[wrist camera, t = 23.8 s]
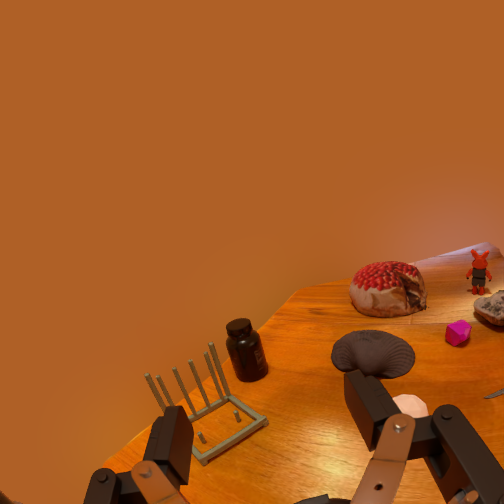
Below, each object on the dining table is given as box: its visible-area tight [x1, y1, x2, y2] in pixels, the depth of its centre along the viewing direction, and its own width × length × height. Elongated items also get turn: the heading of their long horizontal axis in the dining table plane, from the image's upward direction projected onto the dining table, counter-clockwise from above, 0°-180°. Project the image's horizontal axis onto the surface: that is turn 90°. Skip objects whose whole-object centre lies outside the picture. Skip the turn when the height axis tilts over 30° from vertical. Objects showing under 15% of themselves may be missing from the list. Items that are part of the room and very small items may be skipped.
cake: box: [350, 261, 427, 317], centre depth 69 cm, size 23×24×10 cm
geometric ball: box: [392, 394, 429, 418], centre depth 28 cm, size 8×8×8 cm
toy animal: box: [466, 249, 492, 295], centre depth 56 cm, size 8×6×12 cm
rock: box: [474, 290, 504, 326], centre depth 43 cm, size 16×7×15 cm
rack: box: [144, 342, 269, 466], centre depth 39 cm, size 13×11×13 cm
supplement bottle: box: [226, 318, 268, 381], centre depth 53 cm, size 7×7×12 cm
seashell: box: [331, 330, 415, 379], centre depth 49 cm, size 14×19×8 cm
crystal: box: [445, 320, 472, 346], centre depth 43 cm, size 5×5×5 cm
